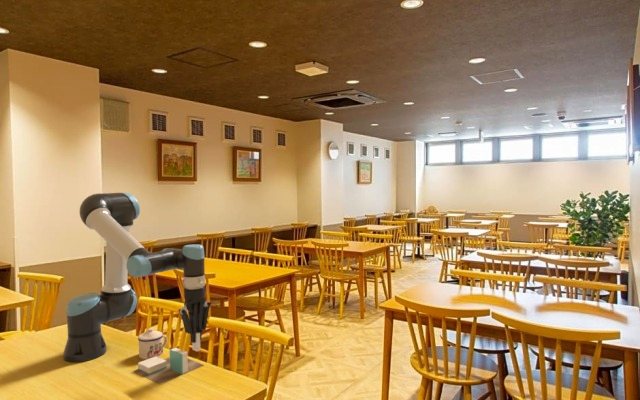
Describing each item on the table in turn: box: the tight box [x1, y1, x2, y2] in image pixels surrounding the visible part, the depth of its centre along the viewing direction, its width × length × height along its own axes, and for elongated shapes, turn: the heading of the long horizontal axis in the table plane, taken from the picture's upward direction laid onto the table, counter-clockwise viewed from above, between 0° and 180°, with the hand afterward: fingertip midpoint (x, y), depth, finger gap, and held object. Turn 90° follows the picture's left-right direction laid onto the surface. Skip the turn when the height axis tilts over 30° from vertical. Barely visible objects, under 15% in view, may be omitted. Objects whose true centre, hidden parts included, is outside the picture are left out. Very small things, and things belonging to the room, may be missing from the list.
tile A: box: [137, 356, 167, 375], centre depth 152 cm, size 7×2×7 cm
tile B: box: [169, 347, 189, 375], centre depth 150 cm, size 7×2×7 cm, turn 53°
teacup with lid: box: [137, 327, 168, 360], centre depth 166 cm, size 12×9×12 cm
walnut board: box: [133, 356, 205, 385], centre depth 152 cm, size 17×18×2 cm
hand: (196, 350), depth 156 cm, fingers closed
